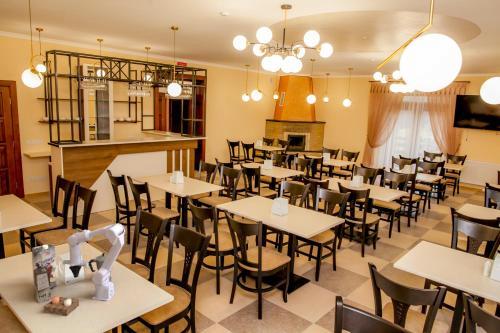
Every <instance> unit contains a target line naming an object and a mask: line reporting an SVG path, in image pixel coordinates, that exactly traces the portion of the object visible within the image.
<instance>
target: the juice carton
mask: <svg viewBox="0 0 500 333" xmlns="http://www.w3.org/2000/svg"><path fill="white" fill-rule="evenodd" d="M56 260H57V259H56V247H55V246H54V245H51V244H49V243H45V244H43V245H40V246H35V247H32V248H31V261H32V271H33V270H35V269H38V268H42V267H46V268H47V269H48V271H49V272H50V290H51V289H52V290H53V289H55V288H56V287H57V264H56V262H57V261H56ZM32 278H33V280H32V282H33V283H34V274H33V273H32Z"/></svg>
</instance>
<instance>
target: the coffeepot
mask: <svg viewBox="0 0 500 333" xmlns="http://www.w3.org/2000/svg"><path fill="white" fill-rule="evenodd" d="M107 255H108V254H105V253H104V252H103V253H101V255H99V256H96V257H95V258H92V259H90V260H89V262H87V263H88V265H89V266H88V267H89V269H90V271H91V273H96V271H98V270H99V269H100V268H101V267H102V265H103V263H104V261H105V259H106V257H107ZM92 263H95V265H96V269H95V270H94V267H93V264H92ZM109 281H110V282H112V275H111V276H110V277H109Z"/></svg>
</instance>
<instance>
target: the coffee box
mask: <svg viewBox="0 0 500 333" xmlns="http://www.w3.org/2000/svg"><path fill="white" fill-rule="evenodd" d="M33 274H34V282H33V287H34V288H33V289H34V297H35V299H36V301H37V303H39V304H40V303H43V302H47V301H50V300H52V297H51V294H52V293H51V289H50V272H49V271H48V269H47V268H46V267H42V268H38V269H35V270H33V269H32V275H33Z"/></svg>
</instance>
